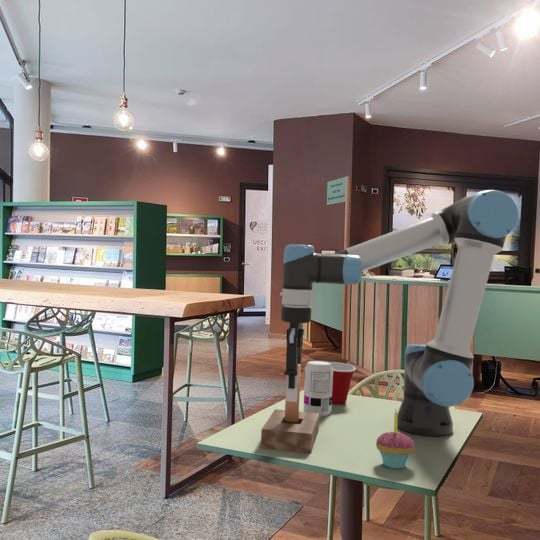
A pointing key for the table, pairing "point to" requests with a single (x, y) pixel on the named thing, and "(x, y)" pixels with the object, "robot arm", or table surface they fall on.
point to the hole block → (290, 432)
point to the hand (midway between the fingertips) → (292, 399)
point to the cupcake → (395, 447)
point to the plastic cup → (341, 381)
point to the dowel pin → (293, 403)
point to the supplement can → (318, 387)
